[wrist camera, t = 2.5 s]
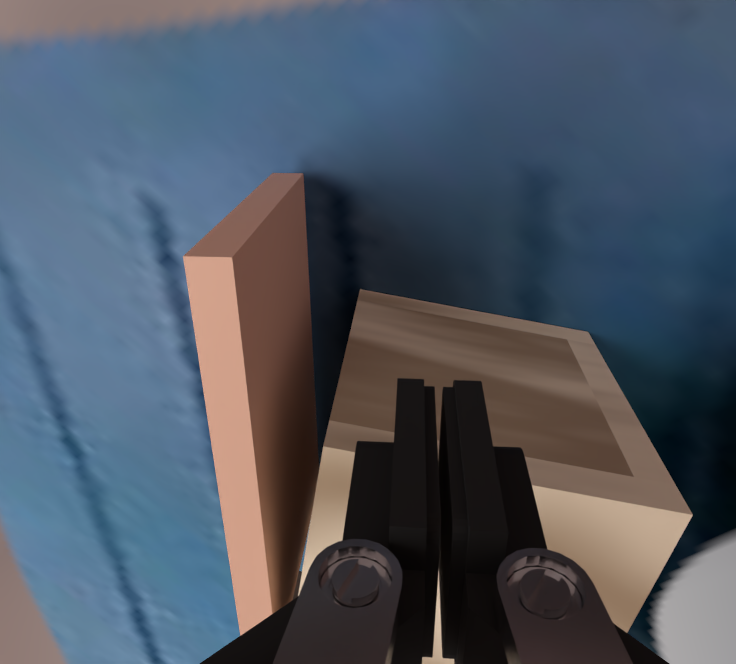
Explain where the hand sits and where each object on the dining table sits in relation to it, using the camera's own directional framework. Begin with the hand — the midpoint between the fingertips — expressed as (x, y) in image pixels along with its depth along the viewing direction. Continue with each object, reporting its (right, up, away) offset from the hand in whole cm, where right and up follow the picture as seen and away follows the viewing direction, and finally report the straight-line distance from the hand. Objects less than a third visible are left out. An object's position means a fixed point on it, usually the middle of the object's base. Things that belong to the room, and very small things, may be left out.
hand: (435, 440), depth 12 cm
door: (-5, +2, +14) cm, 15 cm away
